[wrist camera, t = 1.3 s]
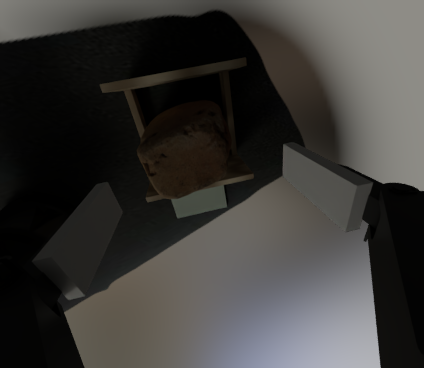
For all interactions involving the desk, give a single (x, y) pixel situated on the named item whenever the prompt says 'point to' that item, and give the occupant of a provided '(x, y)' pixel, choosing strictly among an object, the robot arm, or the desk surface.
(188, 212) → the mat
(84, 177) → the desk surface
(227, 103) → the cradle
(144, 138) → the brown potato
